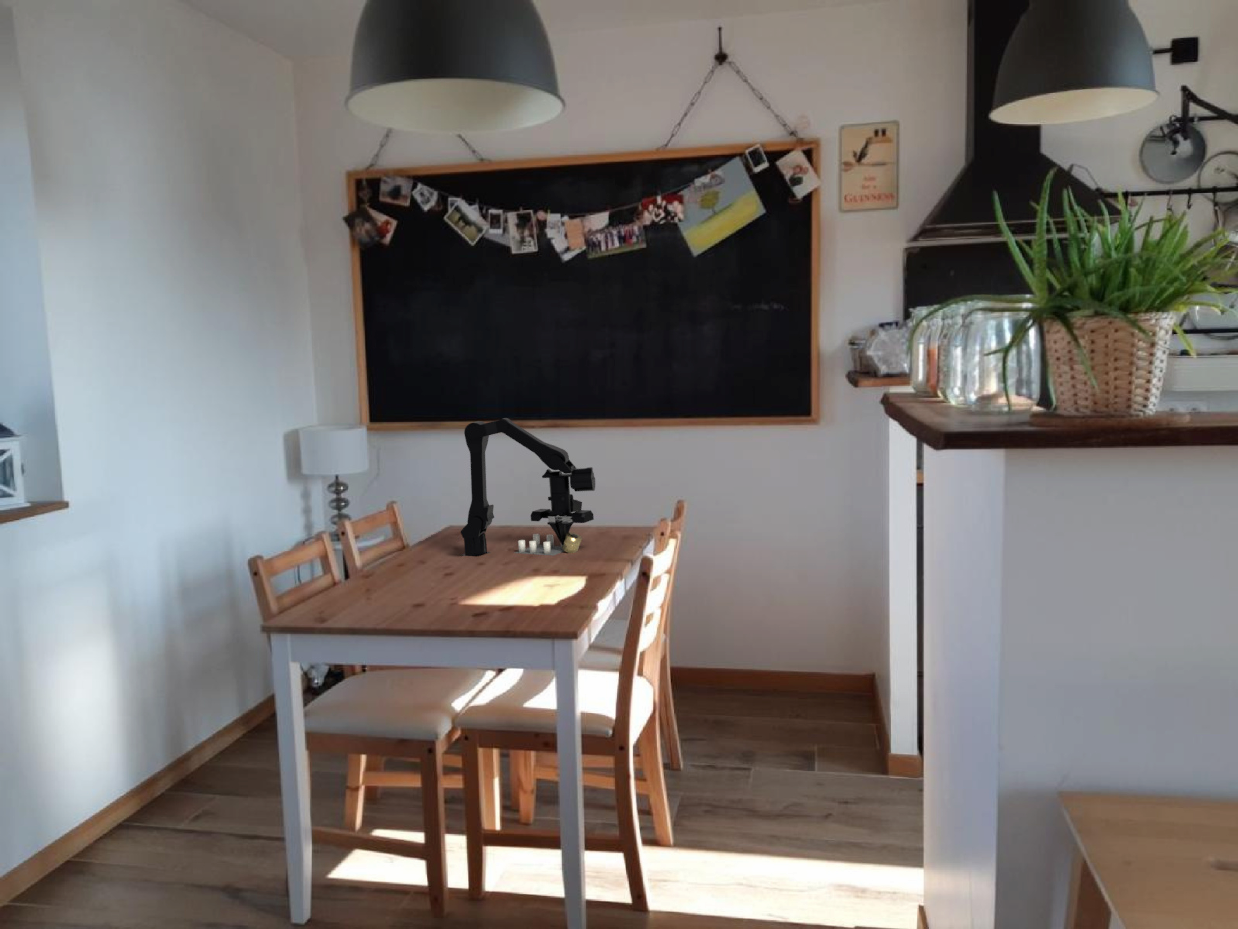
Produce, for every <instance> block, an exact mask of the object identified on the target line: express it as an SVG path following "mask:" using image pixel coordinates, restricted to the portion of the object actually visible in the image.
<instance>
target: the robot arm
mask: <svg viewBox="0 0 1238 929" xmlns="http://www.w3.org/2000/svg"><path fill="white" fill-rule="evenodd" d="M500 433H502V434H504V435H506V436H507V437H509V438H510V439H512V440H513V441H515V442H516V443H518V444H519V445H522V446H523V447H524V448H526V449H527V450H529V451H531V453H532V452H533V453H534V454H535V455H536V456H537V457H538V458H539V459H540V460H541V462H542V463H543V464H545V465H546V466H547V468H548V469H546V470H545V472H544V474H542V476H541V477H542V478H541V479H548V482H549V494H550V495H549V496H548V497H547V500H548V501H550V507H551V508H539V509H536V510H533V511H531V514H530V521H531V522H540V521H541V520H542V519H548V522H547V525H548V526H550V527H551V529H552V530H553V531H554V532H553V533H554V534H555V535H556V536H557V538H558V540H559V542H560V545H561V544H562V545H563V543H564V540H565V538H566V535H567V533H568V532H570V531H571V528H572V526H573V524H586V523H588V522H591V521H593V520H595V519H594V513H593V512H592V510H589V509H588V510H587V509H585V510H584V509H582V507H583V502H582V501H581V500H577V499H574V495H573V493H571V491H570V488H571V489H572V490H574V492H575V493H577V492H593V491H595V490H596V477H595V474H594V473H595V472H594V468H593V467H591V466H590V467H585V468H583V467H582V468H581V467H580V468H577V467H576V466H575V464H574V463H573V462H572V461H571V460H570V458H569V453H568V451H566V450H565V449H563V448H561V447H559V446H557V445H553V444H551V443H547V442H544V441H543V440H541V439H540V438H538V437H537V436H535V435H533V434H532V433H531V432H529V431H527V430H526V429H524V428H523V427H521V426H520V425H518V424H516V423H514V422H513V421H512V420H511V419H510V418H509V417H508V418H507V417H504V418H500V419H498V420H494V421H490V422H484V421H481V420H477V421H474V422H470V423H468V424H467V425H466V426H465V428H464V438H465V444H466V446H467V448H468V451H469V457H470V462H469V463H470V488H471V491H470V492H471V502H470V506H469V508H468V509H469V510H468V513H467V514H468V515H467V521H466V522H467V523H466V524H465V526H464V527H463V528H462V529H461V530H460V534H461V536H462V538H463V544H464V553H463V554H461V555H460V556H461V557H476V558H477V557H480V556H484V555H487V554H490V553H491V551H488V548H487V545H488V544H487V538H486V533H487V529H488V527H489V526H490V525H492V522H493V520H494V519H495V515H494V504H489V501H488V498H487V496H488V495H487V471H486V470H487V468H486V467H487V466H486V450H487V448H488V442H489V437H490V436H493V435H496V434H497V435H498V434H500Z"/></svg>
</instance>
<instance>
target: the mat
mask: <svg viewBox="0 0 1238 929" xmlns="http://www.w3.org/2000/svg"><path fill="white" fill-rule="evenodd" d="M536 548H537V553H534V554H533V555H538V556H539V555H540V556H541V555H542V556H552V557H553V556H557V555H559V554H561V553H564V552H565V551H564V550H563V549H562V548H561V545H554V547H551V554H547V555H545V554H544V546H543V544H540V546H536ZM525 549H526V552H524V553H521V555H522V554H525V555H532V554H531V553H530V546H529V547H527V548H526V547H525ZM514 554H520V553H519V550H518V551H515V552H514Z"/></svg>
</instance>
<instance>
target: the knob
mask: <svg viewBox="0 0 1238 929" xmlns="http://www.w3.org/2000/svg"><path fill="white" fill-rule="evenodd" d="M582 540H583V538H582V536H581V535H580V534H578V533H576V532H571V531H569V532H568V533H567V535H566V538H565V540H564V543H563V546H562V549H563V550H564V552H566V553H568V554H573V553H577V552H578V550H579V548H580V546H581V542H582Z"/></svg>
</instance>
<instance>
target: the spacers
mask: <svg viewBox="0 0 1238 929" xmlns="http://www.w3.org/2000/svg"><path fill="white" fill-rule="evenodd" d="M554 541H555V540H554V535H553V534H546V541H543V543H542V545H543V546H544V554H545V555H544V556H548V555H547V554H551V547H554V546H555V542H554ZM528 543H529V544H528V545H529V547H530V553H531V554H530V555H535V554H534V553H537V548H536V546H540V545H541V538H540V533H533V534H532V540H529V541H528ZM517 544H518V551H519V553H518V554H522V553H524V552H526V540H525V539H520V540H517ZM560 546H561V548H562V546H563V545H562V544H561V543H560Z"/></svg>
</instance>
